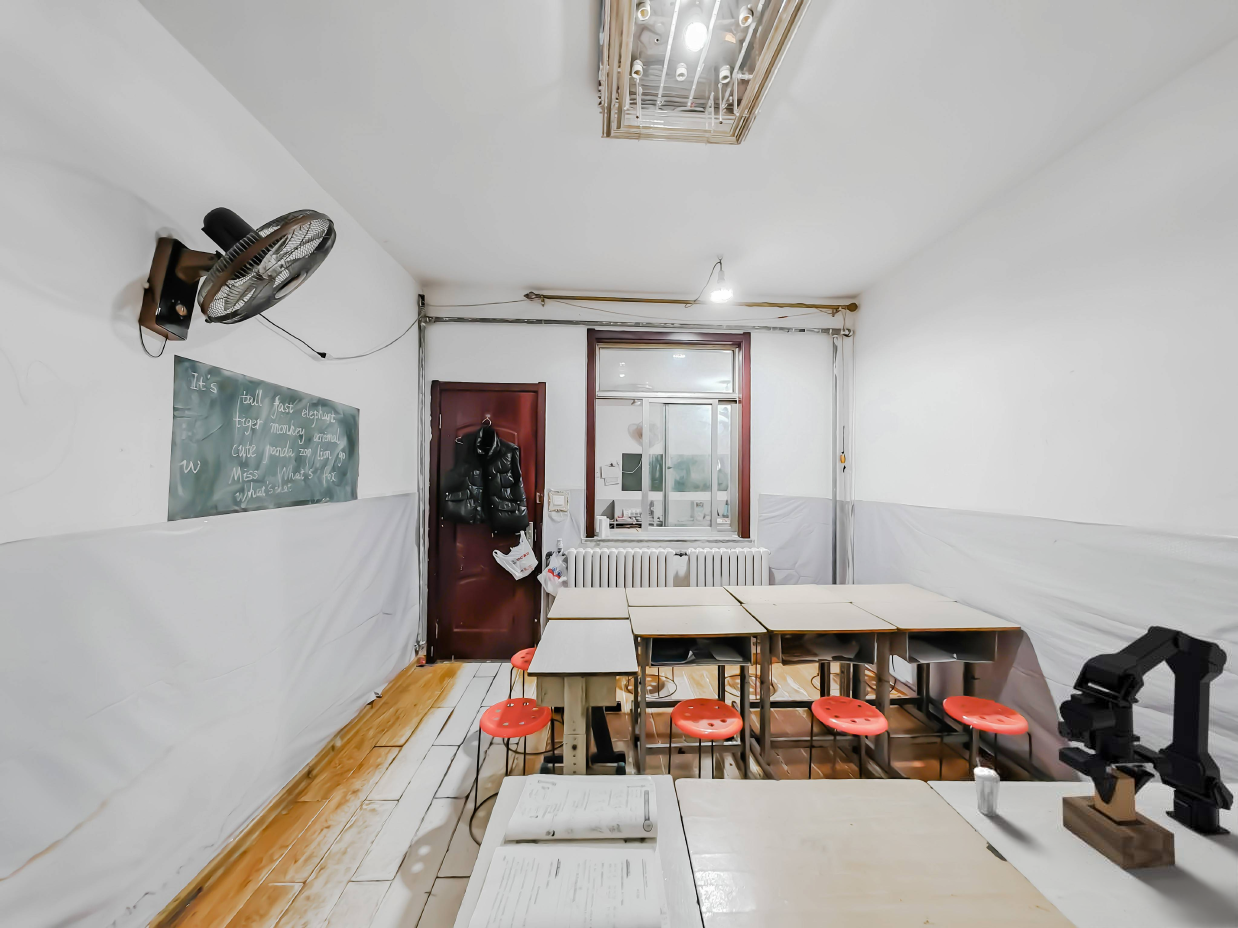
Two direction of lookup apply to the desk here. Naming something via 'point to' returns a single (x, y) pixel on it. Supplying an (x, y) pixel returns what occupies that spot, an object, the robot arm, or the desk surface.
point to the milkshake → (986, 789)
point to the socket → (1119, 835)
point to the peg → (1119, 799)
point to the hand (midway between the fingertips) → (1115, 802)
